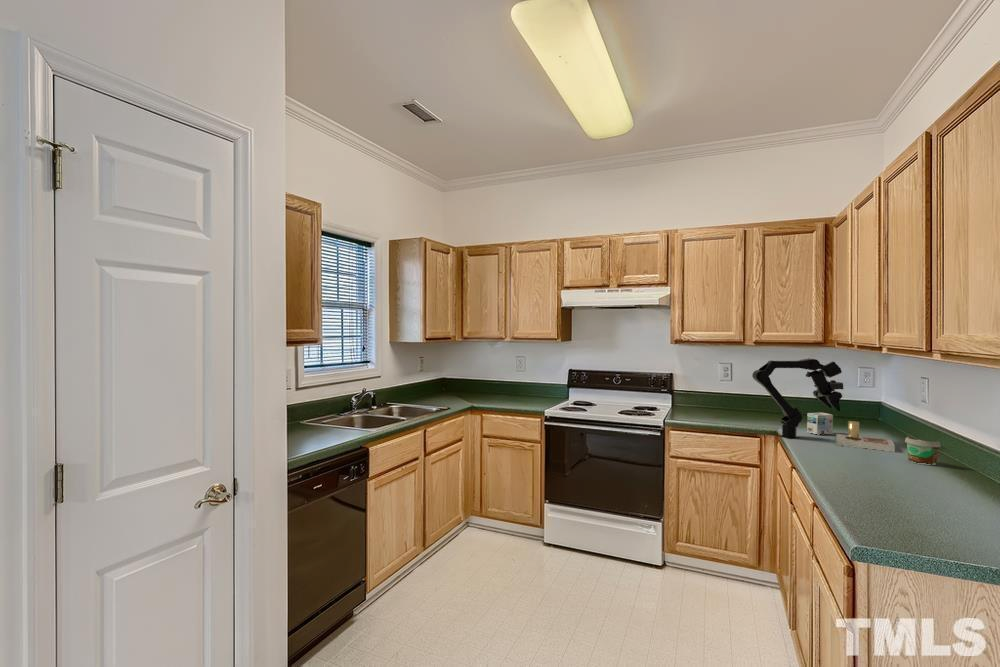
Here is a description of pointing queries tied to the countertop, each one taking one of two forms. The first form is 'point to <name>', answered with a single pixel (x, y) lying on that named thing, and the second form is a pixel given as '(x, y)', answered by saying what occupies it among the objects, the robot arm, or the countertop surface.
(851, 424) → the brass peg
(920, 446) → the food container
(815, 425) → the light bulb box
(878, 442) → the socket plate
